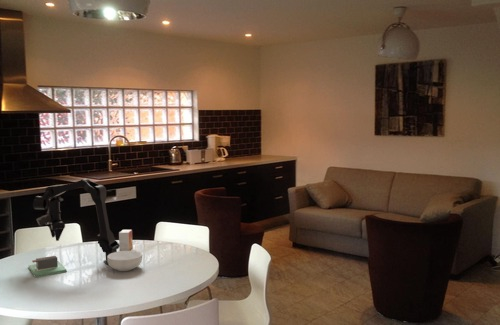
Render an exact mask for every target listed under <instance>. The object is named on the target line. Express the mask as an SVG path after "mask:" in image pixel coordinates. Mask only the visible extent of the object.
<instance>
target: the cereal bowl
mask: <svg viewBox="0 0 500 325" xmlns="http://www.w3.org/2000/svg"><path fill="white" fill-rule="evenodd" d="M107 261H108V264H107V265H108V266H109V267H110V268H112V269H114V270H116V271H119V272H127V271H128V272H129V271H131V270H133V269H135V268H137V267H139V265H141V264H142V261H143V253H142V252H140V251H136V250H129V251H120V250H119V251H117V252H114V253H111V254H109V255H108V256H107Z"/></svg>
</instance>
